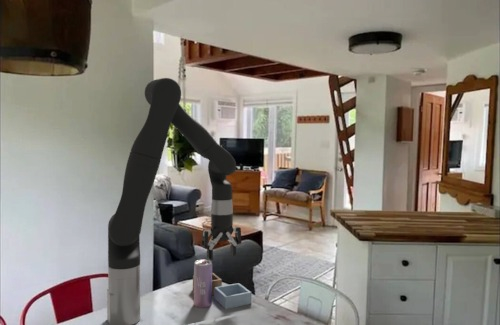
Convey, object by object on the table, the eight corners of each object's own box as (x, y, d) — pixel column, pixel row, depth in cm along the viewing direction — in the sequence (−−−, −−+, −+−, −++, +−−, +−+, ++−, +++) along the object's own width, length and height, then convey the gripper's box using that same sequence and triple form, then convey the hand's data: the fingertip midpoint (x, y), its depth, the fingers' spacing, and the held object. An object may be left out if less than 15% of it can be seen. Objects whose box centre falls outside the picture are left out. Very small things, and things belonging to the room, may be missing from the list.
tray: (225, 311, 122) (225, 297, 122) (214, 300, 131) (214, 287, 130) (251, 305, 127) (251, 292, 126) (238, 295, 135) (239, 283, 135)
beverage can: (213, 303, 128) (213, 259, 128) (209, 310, 122) (210, 265, 122) (196, 302, 129) (196, 258, 128) (191, 309, 123) (192, 264, 122)
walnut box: (200, 300, 131) (200, 283, 130) (192, 292, 138) (192, 275, 137) (221, 296, 134) (221, 279, 134) (213, 288, 141) (213, 272, 141)
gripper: (207, 215, 124) (207, 264, 125) (245, 212, 131) (244, 257, 132) (198, 212, 131) (198, 258, 131) (235, 208, 138) (234, 252, 139)
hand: (221, 258), depth 132 cm, fingers open, 8 cm apart
